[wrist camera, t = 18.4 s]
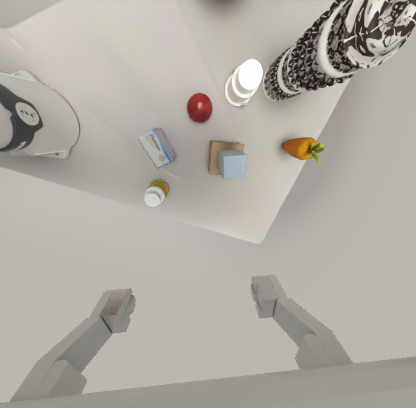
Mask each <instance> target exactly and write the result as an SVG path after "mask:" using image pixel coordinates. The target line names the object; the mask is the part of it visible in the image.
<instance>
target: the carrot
mask: <svg viewBox="0 0 416 408" xmlns="http://www.w3.org/2000/svg"><path fill="white" fill-rule="evenodd" d="M323 145H324V144H323V143H318V142H317V141H316V140H315V139H314V138H297V139H292V140H288V141H287V142H286V143H285V144H284V150H285V151H286V152H288V153H289V154H290V155H291V156H293V157H295V158H298V159H301V160H305V159H310V158H312V157H314V158H315V159H316V160H317V161H318V163H319V162H320V161H321V160H320V158H319V157H318V156H317V155H316V153H319V152H322V151H325V150H326V147H324V148H322V147H323ZM320 148H322V149H320ZM318 149H319V150H318Z"/></svg>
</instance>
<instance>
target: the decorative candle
mask: <svg viewBox="0 0 416 408" xmlns="http://www.w3.org/2000/svg"><path fill="white" fill-rule="evenodd" d="M341 3H342V4H341ZM340 4H341V5H340ZM339 5H340V6H339ZM415 25H416V0H336V1H335V2H334V3H333V4H332V5H331V7H330V11H326V12H325V13H324V14H322V15H321V16H320V18H319V19H318V20H316V21H315V22H314V24H313V26H312V27H311V28H309V29H308V30H307V31H306V32H305V33H304V35H303V36H302V37H301V38H299V39H298V41H297V42H296V44H295V45H294V46H293V47H292V48H288V49H287V50H286V51H285V52H283V53H282V55H280V56H279V57H278V58H277V59H275V60H274V62H273V63H271V64H270V65H269V67H268V68H267V70H266V71H265V73H264V77H263V80H262V88H263V92H264V94H265V96H266V97H267V98H268V99H269V100H271V101H275V102H277V101H281V100H284V99H288V98H291V97H292V96H293V97H294V96H296V95H298V94H300V93H301V92H305V91H310V90H317V89H318V88H319V87H320V88H324V87H326V86H327V85H328V86H333V85H334V84H335V83H336V82H337V83H343V82H344V81H345V80H346V78H350V77H352V76H353V75H354V74H355V72H357V71H358V70H360V69H361V68H369V67H373V66H377V65H380V64H381V63H383V62H384V61H386V60H387V59H389V58H390V57H391V56H393V55H394V54H395V53H396V51H397V50H398V49H399V48H400V47H401V46H402V45H403V44H404V43H405V41H406V40H407V38H408V37H409V35H410V33H411V31H412V29H413V28H414V27H415Z"/></svg>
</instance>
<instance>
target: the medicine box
mask: <svg viewBox="0 0 416 408" xmlns="http://www.w3.org/2000/svg"><path fill="white" fill-rule="evenodd" d="M138 140H139V141H140V143H141V145H142V146H143V148H144V149H145V151H146V152H147V154H148V155H149V157H150V159H151V160H152V162H153V163H154V165H155V166H156V168H157V169H158V168H160V167H162V166H164V165H166V164H168V163H170V162H172V161H173V159H174V158H175V157H176V154H175V152H174V151H173V149H172V147H171V145H170V144H169V142H168V140H167V138H166V137H165V135H164V133H163V131H162V129H158V128H153V129H151V130H149V131H148V132H146V133H144V134H142V135H141V136H139V137H138Z"/></svg>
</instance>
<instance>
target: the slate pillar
mask: <svg viewBox="0 0 416 408" xmlns="http://www.w3.org/2000/svg"><path fill="white" fill-rule="evenodd" d="M246 162H247V155H246V154H244V153H242V152H240V151H238V150H236V149H230V150H218V168H219V170H220V172H221V174H222V176H223V178H224V179H234V178H245V177H246Z"/></svg>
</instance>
